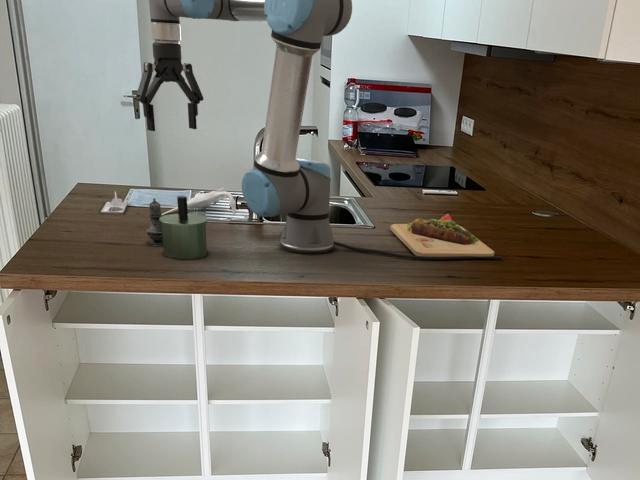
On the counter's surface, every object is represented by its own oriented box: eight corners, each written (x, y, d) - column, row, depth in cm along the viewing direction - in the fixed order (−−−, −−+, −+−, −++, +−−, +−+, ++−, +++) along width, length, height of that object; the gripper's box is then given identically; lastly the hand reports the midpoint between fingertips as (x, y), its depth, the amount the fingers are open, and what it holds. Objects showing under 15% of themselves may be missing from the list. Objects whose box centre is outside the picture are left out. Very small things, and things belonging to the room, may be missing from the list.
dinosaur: (161, 232, 251) (166, 235, 236) (152, 206, 247) (156, 208, 233) (231, 210, 255) (240, 212, 241) (223, 184, 251) (231, 184, 237)
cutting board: (388, 229, 236) (390, 204, 233) (458, 230, 241) (461, 206, 237) (417, 259, 207) (419, 231, 203) (496, 259, 212) (500, 232, 208)
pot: (212, 250, 203) (211, 218, 199) (198, 261, 194) (196, 227, 189) (173, 246, 204) (171, 214, 200) (157, 256, 195) (154, 223, 191)
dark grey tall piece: (146, 241, 208) (142, 195, 202) (167, 240, 209) (164, 195, 203) (147, 246, 203) (143, 200, 197) (169, 246, 205) (166, 200, 198)
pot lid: (213, 220, 199) (212, 194, 196) (197, 230, 189) (196, 203, 186) (170, 216, 201) (168, 190, 197) (152, 226, 191) (149, 198, 187)
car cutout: (107, 203, 246) (105, 188, 243) (127, 203, 247) (126, 189, 245) (100, 213, 233) (99, 198, 231) (122, 213, 234) (121, 198, 232)
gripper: (197, 43, 209) (201, 126, 220) (116, 39, 193) (125, 129, 204) (213, 44, 204) (216, 129, 215) (132, 41, 189) (140, 133, 200)
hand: (172, 129), depth 210 cm, fingers open, 13 cm apart
